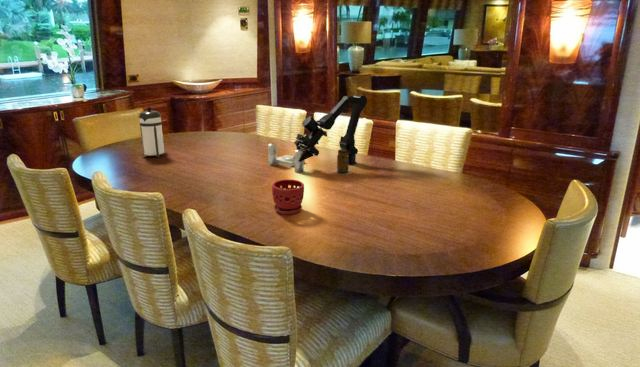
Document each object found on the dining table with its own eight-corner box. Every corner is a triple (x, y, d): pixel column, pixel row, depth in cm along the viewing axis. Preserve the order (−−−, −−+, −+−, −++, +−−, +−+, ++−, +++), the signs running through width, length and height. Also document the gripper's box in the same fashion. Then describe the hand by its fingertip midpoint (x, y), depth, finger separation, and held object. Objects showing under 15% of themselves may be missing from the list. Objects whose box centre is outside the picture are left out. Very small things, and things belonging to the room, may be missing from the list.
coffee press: (172, 156, 283) (167, 107, 274) (145, 160, 275) (139, 109, 266) (163, 151, 297) (158, 103, 288) (137, 154, 289) (131, 105, 279)
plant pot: (267, 214, 191) (266, 186, 188) (281, 204, 203) (280, 177, 199) (296, 218, 187) (296, 190, 183) (309, 207, 198) (308, 180, 195)
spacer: (278, 164, 265) (278, 144, 261) (272, 166, 261) (272, 145, 258) (272, 163, 268) (272, 142, 264) (266, 165, 264) (266, 144, 261)
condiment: (346, 169, 255) (346, 148, 251) (352, 173, 247) (352, 151, 244) (333, 170, 253) (333, 149, 249) (339, 175, 245) (340, 152, 241)
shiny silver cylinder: (305, 171, 252) (305, 149, 248) (299, 173, 248) (299, 151, 244) (298, 169, 254) (298, 148, 251) (292, 171, 251) (292, 150, 247)
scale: (304, 162, 269) (304, 156, 268) (290, 166, 260) (290, 161, 259) (287, 158, 277) (286, 153, 276) (272, 162, 269) (272, 157, 268)
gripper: (296, 125, 254) (279, 147, 252) (314, 131, 238) (295, 154, 236) (309, 138, 260) (292, 159, 258) (327, 144, 245) (308, 167, 243)
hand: (296, 160), depth 249 cm, fingers open, 6 cm apart
